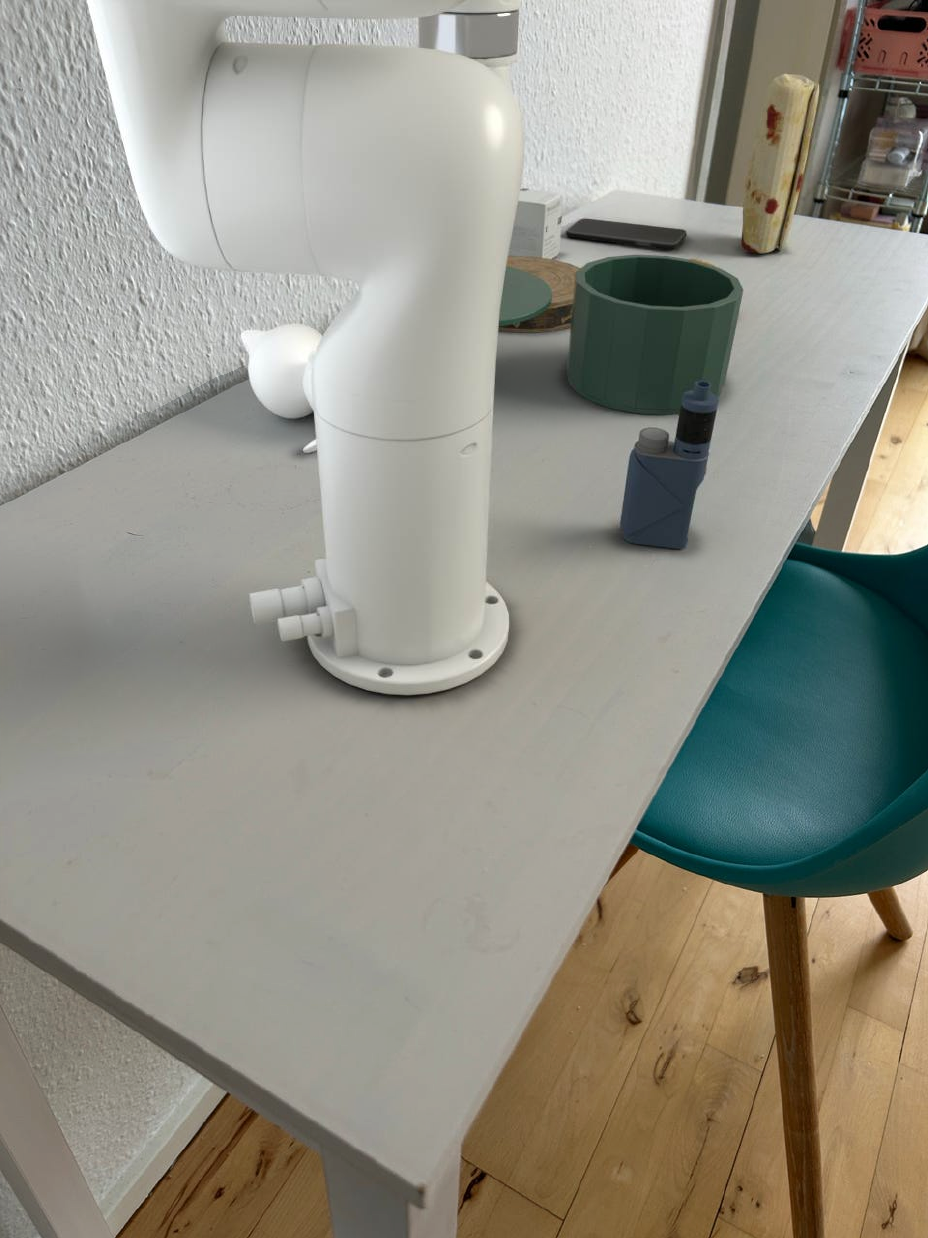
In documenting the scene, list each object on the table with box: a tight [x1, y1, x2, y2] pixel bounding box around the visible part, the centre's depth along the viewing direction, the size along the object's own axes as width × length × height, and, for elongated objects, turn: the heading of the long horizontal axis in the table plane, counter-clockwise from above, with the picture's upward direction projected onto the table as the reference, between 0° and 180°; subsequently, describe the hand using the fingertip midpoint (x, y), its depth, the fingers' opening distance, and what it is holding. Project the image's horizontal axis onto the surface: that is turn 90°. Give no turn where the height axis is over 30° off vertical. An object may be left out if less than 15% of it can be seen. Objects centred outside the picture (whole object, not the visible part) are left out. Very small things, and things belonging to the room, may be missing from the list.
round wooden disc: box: [498, 256, 581, 334], centre depth 105 cm, size 16×16×3 cm
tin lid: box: [499, 266, 552, 326], centre depth 82 cm, size 16×16×7 cm
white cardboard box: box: [508, 187, 564, 259], centre depth 117 cm, size 6×6×7 cm
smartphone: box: [566, 218, 687, 251], centre depth 127 cm, size 7×1×15 cm
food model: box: [740, 73, 820, 254], centre depth 118 cm, size 10×7×20 cm
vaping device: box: [619, 381, 720, 550], centre depth 65 cm, size 3×5×12 cm, turn 78°
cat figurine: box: [240, 322, 323, 454], centre depth 80 cm, size 9×11×12 cm
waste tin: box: [566, 254, 744, 416], centre depth 88 cm, size 15×15×10 cm
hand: (463, 279), depth 83 cm, fingers closed on tin lid, 3 cm apart
